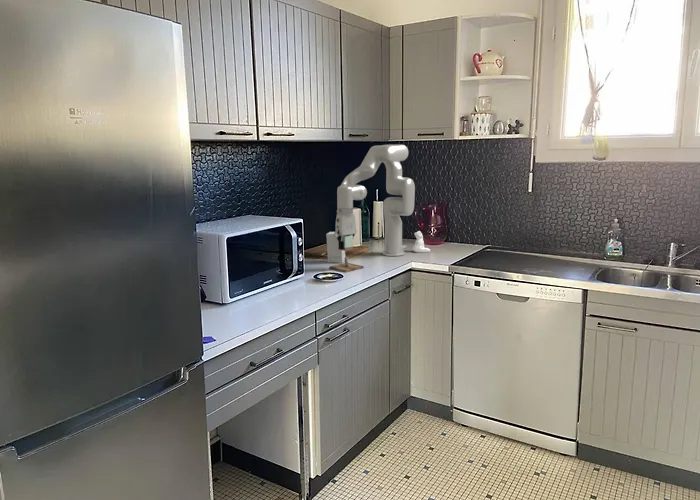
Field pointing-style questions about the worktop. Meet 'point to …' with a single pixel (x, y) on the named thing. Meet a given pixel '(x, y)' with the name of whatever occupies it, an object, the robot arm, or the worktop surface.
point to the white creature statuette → (420, 244)
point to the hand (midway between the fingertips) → (345, 247)
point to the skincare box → (334, 249)
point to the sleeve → (347, 243)
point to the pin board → (346, 266)
